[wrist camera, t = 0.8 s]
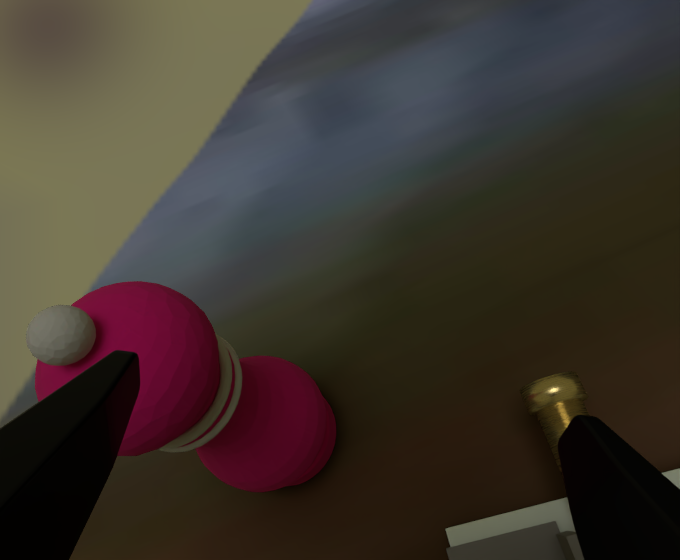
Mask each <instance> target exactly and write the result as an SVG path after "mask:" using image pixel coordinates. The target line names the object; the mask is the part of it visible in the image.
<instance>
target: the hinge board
mask: <svg viewBox="0 0 680 560" xmlns="http://www.w3.org/2000/svg"><path fill="white" fill-rule="evenodd" d="M662 474H663V475H664V476H665V477H666V478H668V479H669V480H670V481H671V482H672V483H673V484H675V485H676V486H677V487H678V488H679V489H680V468H679V469H675V470H671V471H667V472H663V473H662ZM445 530H446V533H447V536H448V540H449V543H450V547H449V548H446V551H447V554H448V557H449V560H584V558H583V554H582V551H581V548H580V545H579V541H578V538H577V535H576V531H575V528H574V524H573V521H572V516H571V512H570V508H569V503H568V498H567V497H566V498H562V499H558V500H554V501H550V502H546V503H543V504H539V505H535V506H531V507H527V508H523V509H519V510H515V511H511V512H508V513H504V514H500V515H496V516H492V517H488V518H484V519H480V520H476V521H473V522H469V523H465V524H461V525H457V526H453V527H449V528H446V529H445Z"/></svg>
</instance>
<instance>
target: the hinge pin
mask: <svg viewBox="0 0 680 560" xmlns="http://www.w3.org/2000/svg"><path fill="white" fill-rule="evenodd" d="M520 394H521V396H522V398H523V401H524V403H525V406H526V408H527V410H528V413H529V415H530V416H537V418H538V420H539V422H540V425H541V427H542V430H543V432H544V434H545V437H546V439H547V441H548V444H549V446H550V448H551V451H552V453H553V455H554V458H555V460H556V463H557V465H558V467H559V470H560V472H561V474H562V477H563V473H562V468H561V463H560V458H559V454H558V441H559V438H560V437H561V435H562V434H563V432H564V431H565V429H566V428H567V426H568V425H569V423H570V422H571V420H572V419H573V418H574V417H575V416H576V415H586V416H590V415H589V413H588V411H587V409H586V407H585V405H584V403H583V401H584V400H586V399H587V398H588V395H587V393H586V391H585V389H584V387H583V385H582V383H581V381H580V379H579V377H578V375H577V373H576V372H563V373H558V374H554V375H551V376H548V377H545V378H542V379H539V380H536V381H534V382H532V383H530V384H528V385H526V386H524V387H523V388H521V389H520ZM563 479H564V478H563Z"/></svg>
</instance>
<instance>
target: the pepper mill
mask: <svg viewBox="0 0 680 560" xmlns="http://www.w3.org/2000/svg"><path fill="white" fill-rule="evenodd" d="M26 341H27V346H28V348H29V349H30V351H31V353H32V354H33V356H34V357H36V358H37V359H38V360H37V366H36V374H35V390H36V393H37V397H38V401H41V400H42V399H44V398H45V397H47V396H48V395H50V394H51V393H53V392H54V391H56V390H57V389H58V388H60V387H61V386H63V385H64V384H66V383H67V382H69V381H70V380H72V379H73V378H75V377H76V376H77V375H79V374H80V373H82V372H83V371H85V370H86V369H88V368H89V367H91V366H92V365H94V364H95V363H97V362H98V361H99V360H101V359H102V358H104V357H105V356H107V355H108V354H110V353H111V352H113V351H115V350H123V351H130V352H135V353H137V354H138V357H139V367H140V390H139V394H138V397H137V400H136V403H135V405H134V408H133V411H132V414H131V417H130V420H129V423H128V426H127V429H126V431H125V434H124V437H123V440H122V443H121V446H120V449H119V452H118V455H117V456H137V455H140V454H143V453H147V452H150V451H153V450H156V449H159V450H162V451H166V452H186V451H189V450H192V449H196V451H197V453H198V455H199V457H200V459H201V461H202V462H203V464H204V465H205V466H206V467H207V468H208V469H209V470H210V471H211V472H212V473H213V474H214V475H215V476H216V477H217V478H218V479H220V480H221V481H223V482H224V483H226V484H228V485H231V486H233V487H236V488H239V489H242V490H246V491H250V492H267V491H273V490H277V489H279V488H282V487H284V486H293V485H298V484H301V483H303V482H306V481H308V480H309V479H311V478H312V477H313V476H315V475H316V474H317V473H319V471H320V470H321V469H322V468H323V467H324V466H325V464H326V463H327V461H328V459H329V458H330V456H331V454H332V451H333V448H334V445H335V440H336V422H335V417H334V414H333V411H332V409H331V407H330V405H329V403H328V402H327V400H326V399H325V398H324V397H323V396H322V394H321V392H320V390H319V388H318V386H317V384H316V383H315V381H314V380H313V379H312V378H311V377H310V376H309V375H308V373H307V372H305V371H304V370H302V369H301V368H300V367H298V366H297V365H295V364H293V363H291V362H289V361H286V360H284V359H281V358H277V357H272V356H253V357H246V358H241V359H239V358H238V356H237V354H236V352H235V350H234V349H233V348H232V346H231V345H230V344H229V343H228V342H227V341H226V340H224V339H223V338H221V337H220V336H218V335H216V334H215V332H214V329H213V327H212V325H211V323H210V321H209V320H208V318H207V316H206V315H205V313H204V312H203V311H202V310H201V309H200V308H199V307H198V306H197V305H196V304H195V303H194V302H193V301H191V300H190V299H189V298H187V297H186V296H184V295H183V294H181V293H179V292H177V291H175V290H173V289H171V288H169V287H166V286H163V285H160V284H156V283H149V282H142V281H137V282H122V283H116V284H112V285H108V286H104V287H101V288H99V289H97V290H95V291H92V292H90V293H88V294H86V295H85V296H83V297H82V298H81V299H79V300H78V301H76V302H75V303H73V304H72V305H71V306H69V305H56V306H52V307H49V308H46V309H45V310H43V311H41V312H39V313H38V314H37V315H36V316H35V317H34V318H33V320H32V321H31V322H30V324H29V326H28V329H27V333H26Z"/></svg>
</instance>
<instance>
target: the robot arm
mask: <svg viewBox="0 0 680 560" xmlns="http://www.w3.org/2000/svg"><path fill="white" fill-rule="evenodd" d="M139 390H140V367H139V357H138V354H137V353H135V352H130V351H123V350H115V351H113V352H111V353H110V354H108V355H107V356H105V357H104V358H102V359H101V360H99V361H98V362H97V363H95V364H94V365H92V366H91V367H89V368H88V369H86V370H85V371H83V372H82V373H80V374H79V375H77V376H76V377H75V378H73V379H72V380H70V381H69V382H67V383H66V384H64V385H63V386H61V387H60V388H58V389H57V390H56V391H54V392H53V393H51V394H50V395H48V396H47V397H45V398H44V399H42V400H41V401H39V402H38V403H37V404H35V405H34V406H32V407H31V408H29V409H28V410H26V411H25V412H23V413H22V414H20V415H19V416H18V417H16V418H15V419H13V420H12V421H10V422H9V423H7V424H6V425H4V426H3V427H1V428H0V560H69V558H70V556H71V554H72V552H73V550H74V548H75V546H76V544H77V542H78V540H79V538H80V535H81V533H82V531H83V529H84V527H85V525H86V523H87V521H88V519H89V517H90V515H91V513H92V510H93V508H94V506H95V504H96V502H97V500H98V498H99V496H100V494H101V492H102V490H103V488H104V485H105V483H106V481H107V479H108V477H109V475H110V472H111V470H112V468H113V465H114V463H115V460H116V457H117V455H118V452H119V449H120V446H121V443H122V440H123V437H124V434H125V431H126V429H127V426H128V423H129V420H130V417H131V414H132V411H133V408H134V405H135V403H136V400H137V397H138V394H139ZM558 454H559V458H560V463H561V468H562V473H563V478H564V483H565V488H566V493H567V498H568V503H569V508H570V512H571V516H572V521H573V524H574V528H575V531H576V535H577V538H578V541H579V545H580V548H581V551H582V554H583V558H584V560H680V489H679V488H678V487H677V486H676V485H675V484H673V483H672V482H671V481H670V480H669V479H668V478H666V477H665V476H664V475H663V474H662V473H661V472H660V471H658V470H657V469H656V468H655V467H654V466H653V465H652V464H650V463H649V462H648V461H647V460H646V459H645V458H644V457H642V456H641V455H640V454H639V453H638V452H637V451H636V450H634V449H633V448H632V447H631V446H630V445H629V444H627V443H626V442H625V441H624V440H623V439H622V438H621V437H619V436H618V435H617V434H616V433H615V432H614V431H613V430H611V429H610V428H609V427H608V426H607V425H606V424H605V423H603V422H602V421H601V420H600V419H598V418H597V417H594V416H586V415H576V416H575V417H574V418H573V419H572V420H571V422H570V423H569V425H568V426H567V428H566V429H565V431H564V432H563V434H562V435H561V437H560V438H559V441H558Z"/></svg>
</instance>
